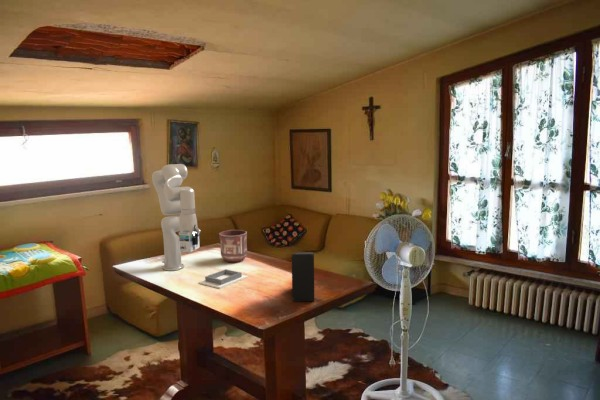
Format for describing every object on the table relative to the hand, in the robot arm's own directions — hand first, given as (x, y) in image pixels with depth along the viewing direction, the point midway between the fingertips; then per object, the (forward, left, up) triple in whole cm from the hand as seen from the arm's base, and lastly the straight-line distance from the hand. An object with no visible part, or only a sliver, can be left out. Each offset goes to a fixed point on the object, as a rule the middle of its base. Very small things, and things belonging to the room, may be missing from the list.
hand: (189, 243), depth 242 cm
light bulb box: (0, 0, -4) cm, 4 cm away
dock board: (+12, +13, -22) cm, 28 cm away
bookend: (+60, +19, -22) cm, 67 cm away
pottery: (-11, +46, -22) cm, 52 cm away
